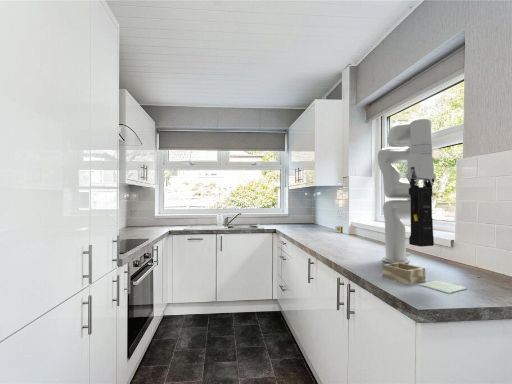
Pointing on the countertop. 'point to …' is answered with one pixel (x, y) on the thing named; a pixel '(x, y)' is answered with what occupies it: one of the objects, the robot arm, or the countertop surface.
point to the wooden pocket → (403, 273)
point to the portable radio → (421, 218)
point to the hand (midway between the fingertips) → (421, 195)
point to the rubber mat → (443, 286)
